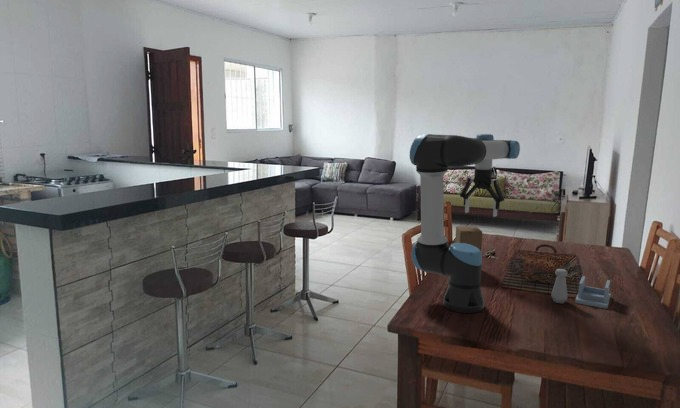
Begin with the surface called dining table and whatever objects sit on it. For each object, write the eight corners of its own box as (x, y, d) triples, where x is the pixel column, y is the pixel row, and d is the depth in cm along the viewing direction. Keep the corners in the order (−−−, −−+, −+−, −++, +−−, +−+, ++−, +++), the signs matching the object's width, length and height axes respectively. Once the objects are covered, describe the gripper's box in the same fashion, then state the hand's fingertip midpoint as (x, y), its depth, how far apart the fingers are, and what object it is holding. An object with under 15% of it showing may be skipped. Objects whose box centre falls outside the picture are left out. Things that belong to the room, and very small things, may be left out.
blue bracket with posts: (607, 308, 182) (609, 289, 181) (575, 302, 188) (576, 284, 186) (610, 297, 194) (612, 279, 192) (579, 291, 199) (581, 274, 198)
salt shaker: (568, 305, 186) (571, 272, 183) (552, 303, 187) (555, 271, 185) (564, 299, 191) (567, 267, 189) (549, 298, 193) (552, 266, 190)
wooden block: (480, 273, 223) (482, 231, 219) (458, 273, 223) (460, 231, 219) (474, 266, 233) (477, 226, 229) (454, 266, 233) (455, 226, 229)
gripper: (513, 169, 215) (510, 216, 219) (461, 166, 231) (459, 209, 234) (507, 171, 209) (504, 219, 213) (454, 167, 225) (452, 212, 229)
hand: (480, 214), depth 224 cm, fingers open, 13 cm apart
